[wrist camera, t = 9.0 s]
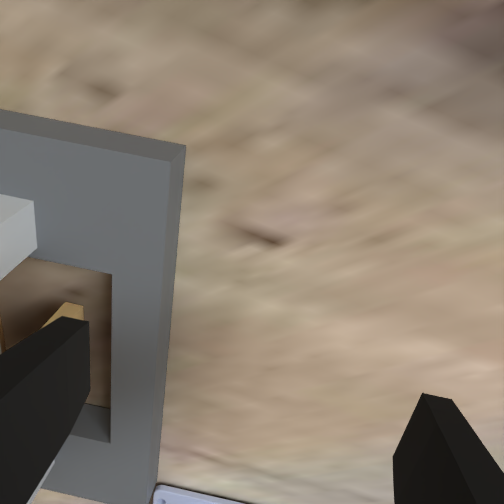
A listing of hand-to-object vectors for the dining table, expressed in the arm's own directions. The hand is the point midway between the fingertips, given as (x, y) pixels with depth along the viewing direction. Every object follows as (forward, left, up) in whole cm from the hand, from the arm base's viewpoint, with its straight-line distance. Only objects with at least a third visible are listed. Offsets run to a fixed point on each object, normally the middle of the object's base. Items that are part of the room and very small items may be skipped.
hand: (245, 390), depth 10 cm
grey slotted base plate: (-8, +10, -9) cm, 16 cm away
